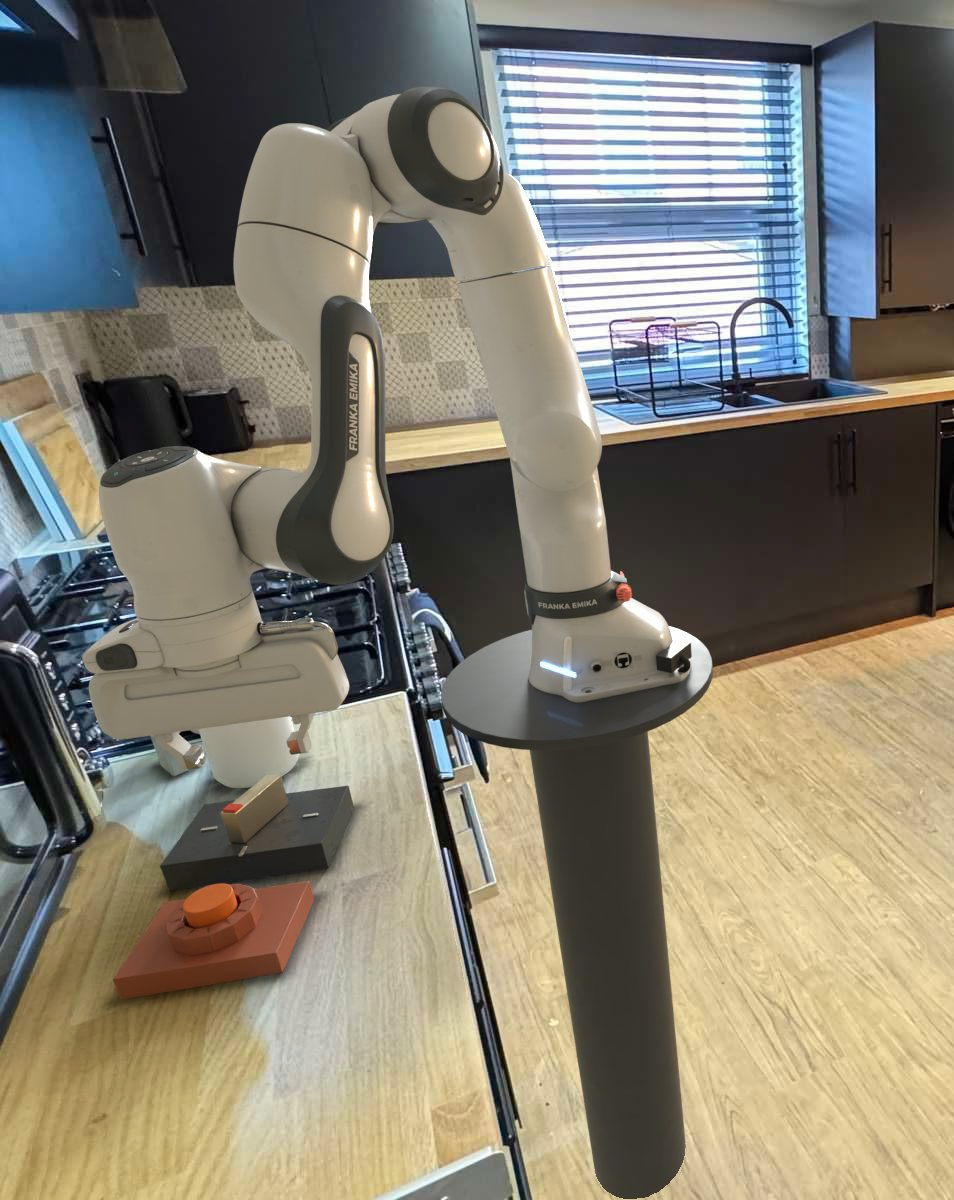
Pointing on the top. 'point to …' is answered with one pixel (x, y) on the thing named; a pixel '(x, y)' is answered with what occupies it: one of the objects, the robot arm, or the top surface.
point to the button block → (217, 942)
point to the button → (210, 905)
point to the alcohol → (249, 751)
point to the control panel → (260, 841)
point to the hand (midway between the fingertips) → (248, 758)
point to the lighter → (167, 759)
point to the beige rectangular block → (254, 808)
